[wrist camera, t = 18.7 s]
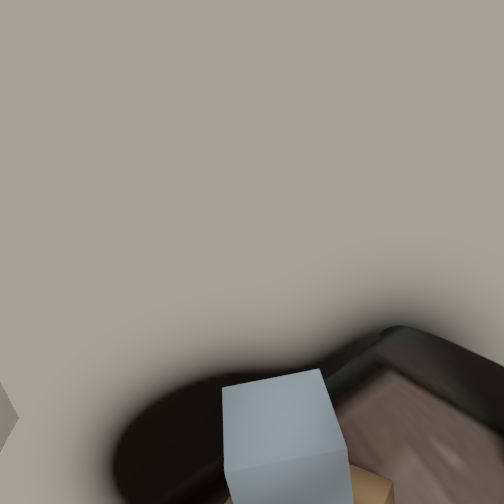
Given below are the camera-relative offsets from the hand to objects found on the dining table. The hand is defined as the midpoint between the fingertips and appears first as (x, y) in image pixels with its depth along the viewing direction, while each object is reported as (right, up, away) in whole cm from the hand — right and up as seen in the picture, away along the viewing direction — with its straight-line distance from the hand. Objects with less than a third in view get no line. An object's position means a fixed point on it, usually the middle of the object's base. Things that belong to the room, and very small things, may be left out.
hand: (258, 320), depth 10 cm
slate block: (+4, -20, +25) cm, 32 cm away
